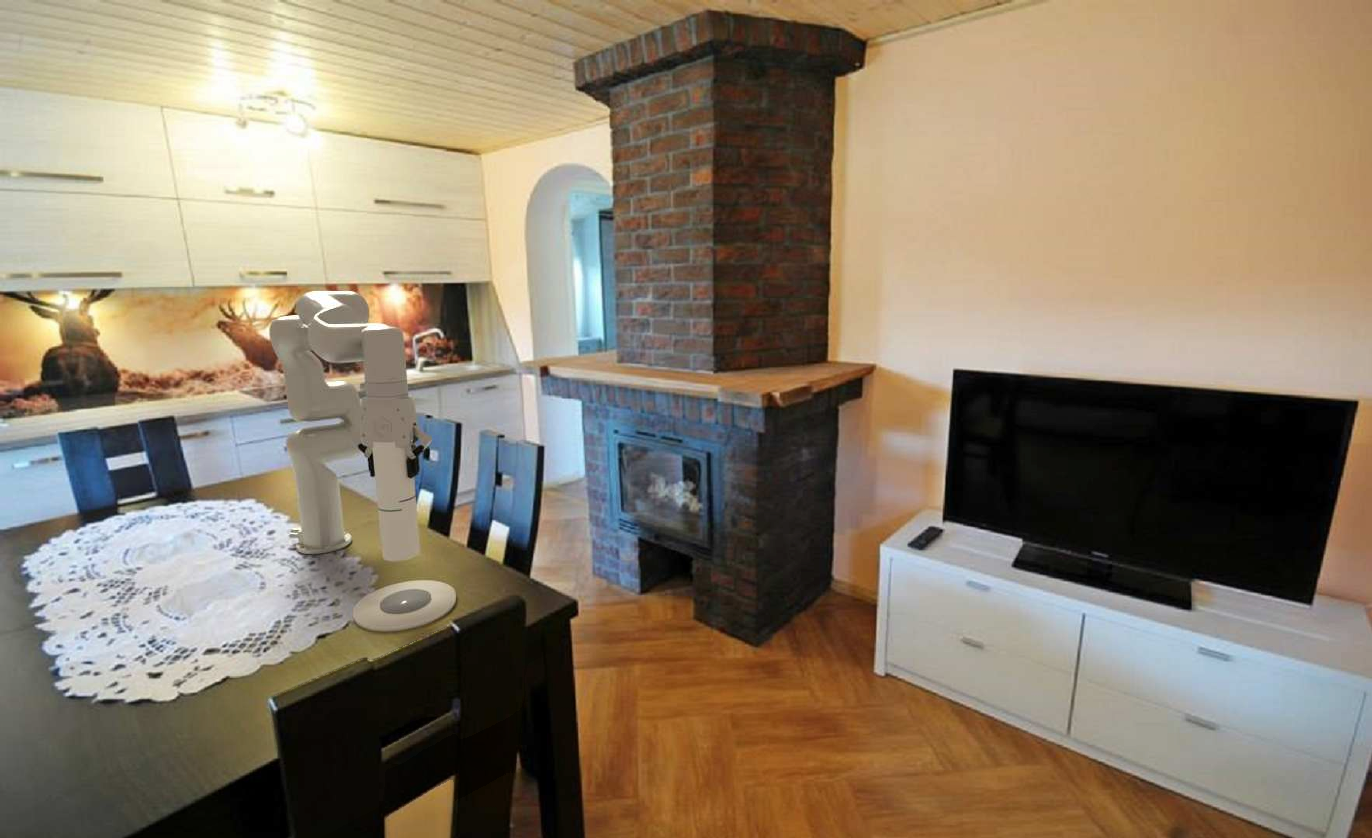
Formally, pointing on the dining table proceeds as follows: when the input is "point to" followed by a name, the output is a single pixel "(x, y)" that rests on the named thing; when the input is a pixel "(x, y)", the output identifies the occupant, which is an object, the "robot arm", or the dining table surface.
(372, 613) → the plate
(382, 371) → the robot arm
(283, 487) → the dining table surface
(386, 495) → the cylindrical container
